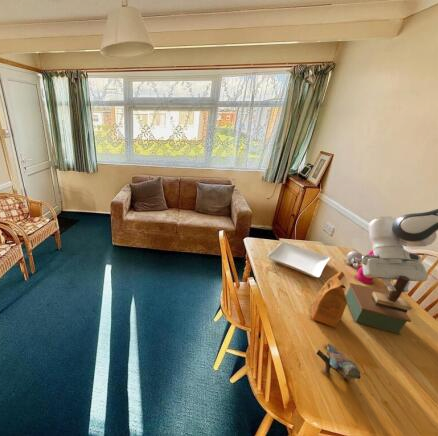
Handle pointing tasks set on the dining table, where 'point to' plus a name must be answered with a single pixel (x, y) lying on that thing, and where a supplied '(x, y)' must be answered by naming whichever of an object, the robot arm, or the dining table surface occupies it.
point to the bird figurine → (339, 363)
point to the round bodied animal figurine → (354, 258)
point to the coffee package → (330, 301)
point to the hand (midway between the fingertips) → (398, 291)
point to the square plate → (299, 259)
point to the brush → (393, 297)
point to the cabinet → (373, 309)
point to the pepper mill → (361, 275)
